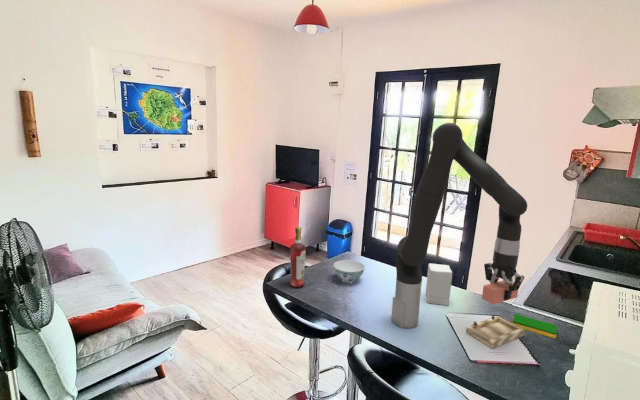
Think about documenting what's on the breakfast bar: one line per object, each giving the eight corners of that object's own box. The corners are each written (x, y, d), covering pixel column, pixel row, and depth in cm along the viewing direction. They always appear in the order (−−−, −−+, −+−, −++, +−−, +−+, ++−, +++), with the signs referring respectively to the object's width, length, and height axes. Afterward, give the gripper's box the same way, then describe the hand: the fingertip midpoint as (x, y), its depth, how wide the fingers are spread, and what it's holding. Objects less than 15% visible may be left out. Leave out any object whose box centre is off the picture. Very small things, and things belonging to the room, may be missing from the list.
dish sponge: (555, 339, 122) (556, 333, 121) (511, 326, 130) (512, 320, 129) (555, 330, 128) (556, 324, 127) (513, 318, 135) (514, 313, 135)
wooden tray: (492, 348, 115) (493, 339, 114) (466, 332, 124) (467, 323, 123) (523, 336, 123) (524, 327, 122) (496, 321, 132) (498, 313, 131)
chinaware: (365, 287, 158) (366, 272, 157) (333, 286, 158) (333, 271, 157) (361, 274, 173) (362, 260, 172) (332, 273, 173) (333, 259, 172)
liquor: (296, 280, 164) (297, 224, 158) (308, 285, 159) (309, 227, 154) (286, 285, 158) (286, 227, 152) (298, 290, 153) (299, 230, 148)
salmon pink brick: (493, 304, 116) (495, 289, 115) (481, 298, 120) (483, 283, 118) (517, 297, 122) (519, 282, 120) (505, 292, 125) (507, 277, 124)
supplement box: (449, 306, 143) (453, 272, 140) (427, 303, 145) (430, 270, 142) (446, 296, 152) (449, 264, 149) (425, 294, 154) (428, 262, 151)
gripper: (481, 245, 122) (475, 290, 125) (519, 259, 109) (512, 307, 112) (494, 243, 125) (488, 286, 128) (533, 256, 113) (526, 303, 116)
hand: (499, 296), depth 120 cm, fingers closed on salmon pink brick, 4 cm apart
